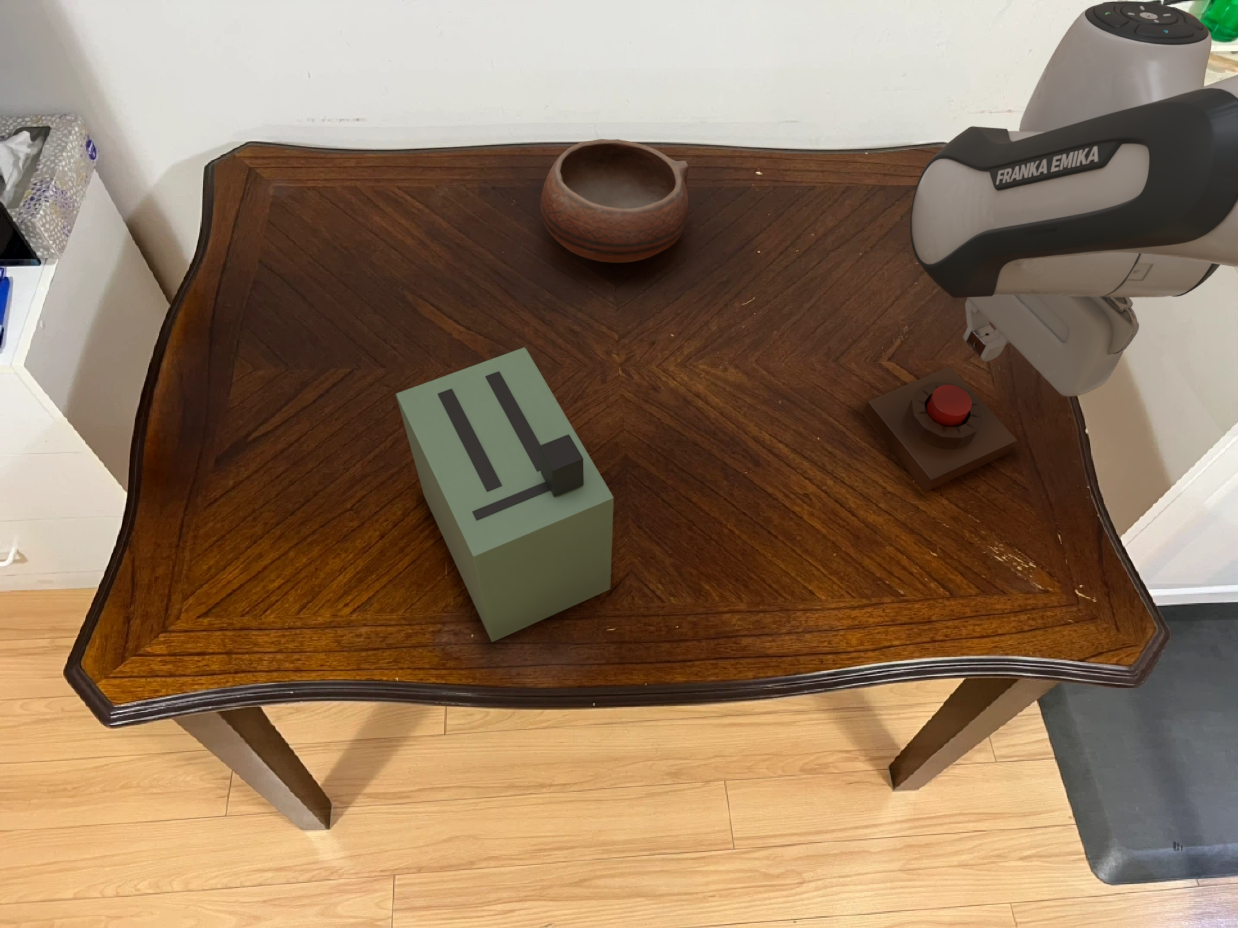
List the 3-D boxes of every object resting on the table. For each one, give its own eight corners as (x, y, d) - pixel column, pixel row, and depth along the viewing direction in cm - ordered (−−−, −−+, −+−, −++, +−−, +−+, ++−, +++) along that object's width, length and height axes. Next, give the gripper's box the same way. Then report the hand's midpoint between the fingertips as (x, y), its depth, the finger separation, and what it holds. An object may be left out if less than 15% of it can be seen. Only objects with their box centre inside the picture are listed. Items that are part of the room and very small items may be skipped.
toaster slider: (584, 485, 69) (583, 458, 66) (554, 497, 69) (552, 471, 66) (570, 460, 71) (569, 433, 68) (540, 472, 70) (538, 445, 67)
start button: (973, 418, 88) (980, 407, 87) (942, 432, 87) (948, 421, 86) (949, 391, 90) (955, 379, 89) (919, 404, 89) (924, 392, 88)
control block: (1008, 453, 91) (1024, 429, 87) (924, 492, 88) (937, 468, 85) (943, 379, 95) (956, 353, 92) (862, 414, 93) (872, 389, 89)
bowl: (706, 220, 107) (716, 147, 99) (647, 311, 100) (652, 240, 91) (584, 177, 111) (583, 102, 103) (517, 262, 103) (510, 189, 95)
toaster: (610, 589, 82) (614, 497, 69) (491, 642, 79) (472, 556, 66) (534, 451, 89) (525, 345, 77) (423, 495, 86) (395, 392, 74)
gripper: (1181, 302, 65) (1093, 423, 76) (988, 132, 75) (936, 262, 87) (1112, 331, 63) (1033, 451, 75) (924, 154, 73) (880, 283, 85)
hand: (979, 348), depth 81 cm, fingers closed
